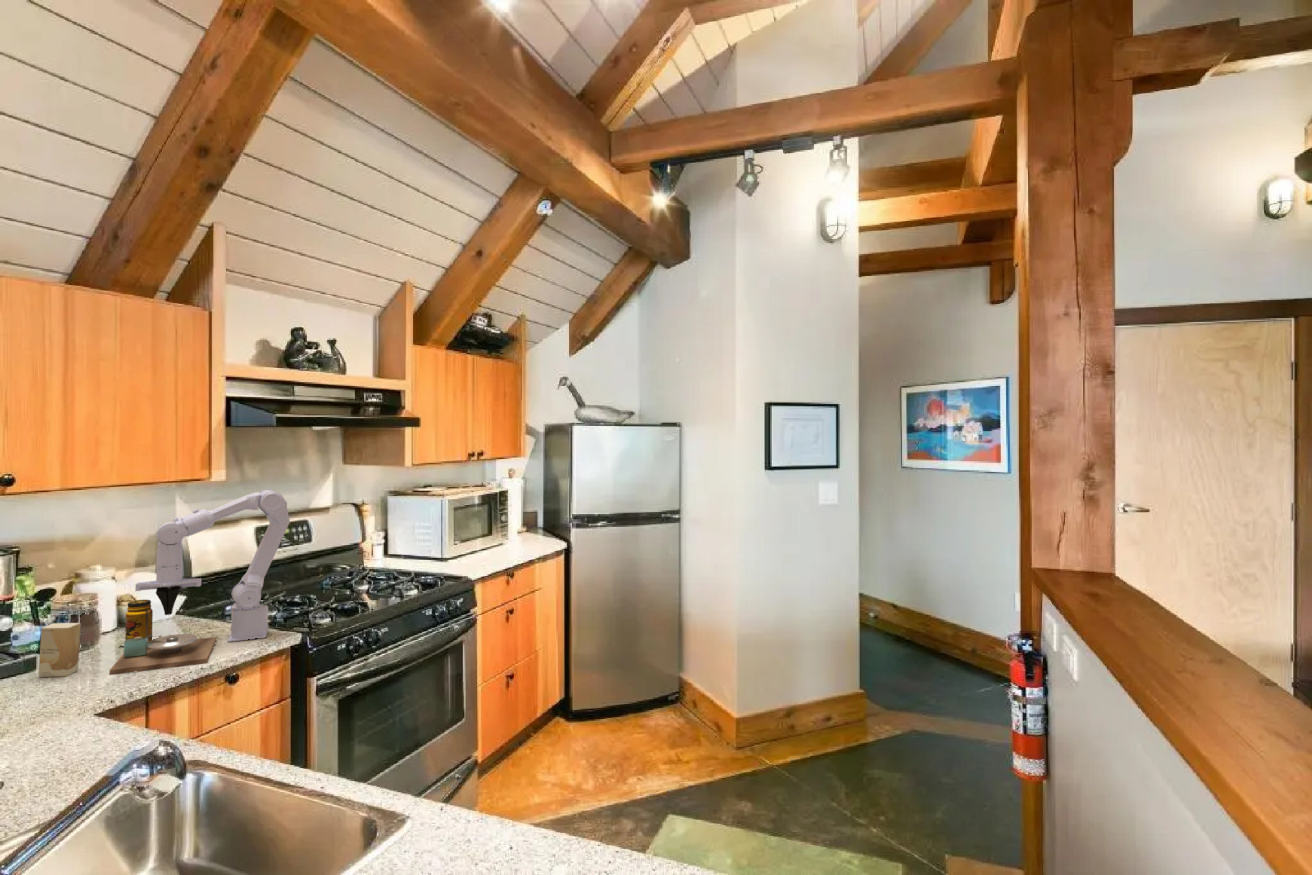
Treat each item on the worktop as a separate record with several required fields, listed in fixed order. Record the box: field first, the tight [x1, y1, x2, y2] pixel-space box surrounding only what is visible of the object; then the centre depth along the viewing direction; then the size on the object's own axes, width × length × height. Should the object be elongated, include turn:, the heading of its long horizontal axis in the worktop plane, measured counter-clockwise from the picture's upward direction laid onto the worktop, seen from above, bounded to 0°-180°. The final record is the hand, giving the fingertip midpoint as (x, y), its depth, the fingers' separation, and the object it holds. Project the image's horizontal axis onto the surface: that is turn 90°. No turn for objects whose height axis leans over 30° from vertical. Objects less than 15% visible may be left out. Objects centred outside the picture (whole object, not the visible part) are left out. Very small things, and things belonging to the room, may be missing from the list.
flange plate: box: [123, 633, 198, 657], centre depth 172 cm, size 16×11×4 cm
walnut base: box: [109, 636, 218, 676], centre depth 172 cm, size 20×20×6 cm
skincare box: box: [38, 622, 82, 678], centre depth 159 cm, size 6×4×12 cm
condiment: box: [124, 599, 162, 642], centre depth 184 cm, size 7×8×12 cm
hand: (168, 613), depth 178 cm, fingers closed
